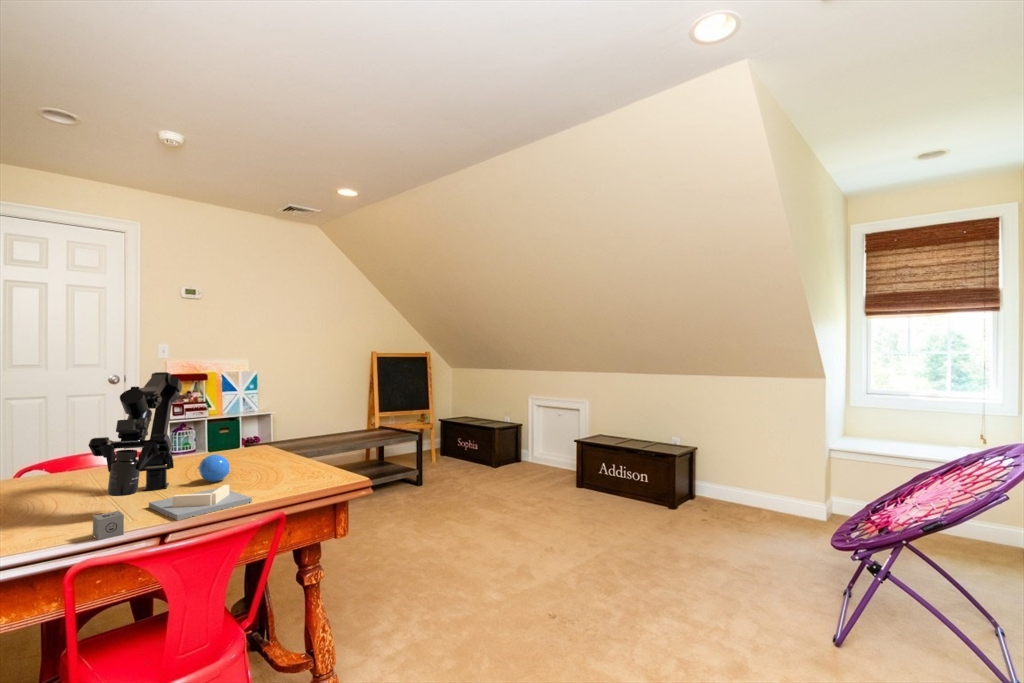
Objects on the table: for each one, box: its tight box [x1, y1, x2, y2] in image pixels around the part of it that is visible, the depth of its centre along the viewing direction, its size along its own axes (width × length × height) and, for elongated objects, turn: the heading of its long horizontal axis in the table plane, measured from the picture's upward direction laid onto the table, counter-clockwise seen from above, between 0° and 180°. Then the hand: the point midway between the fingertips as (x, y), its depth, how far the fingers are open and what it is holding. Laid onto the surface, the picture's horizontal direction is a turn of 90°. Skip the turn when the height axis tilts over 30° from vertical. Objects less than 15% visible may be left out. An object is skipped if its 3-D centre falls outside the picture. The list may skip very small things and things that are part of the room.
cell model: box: [197, 454, 232, 483], centre depth 179 cm, size 10×12×10 cm
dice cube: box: [92, 510, 125, 542], centre depth 126 cm, size 5×5×5 cm
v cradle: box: [148, 484, 253, 521], centre depth 151 cm, size 20×20×4 cm
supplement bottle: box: [107, 449, 141, 497], centre depth 143 cm, size 7×7×12 cm
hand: (124, 470), depth 142 cm, fingers closed on supplement bottle, 6 cm apart
